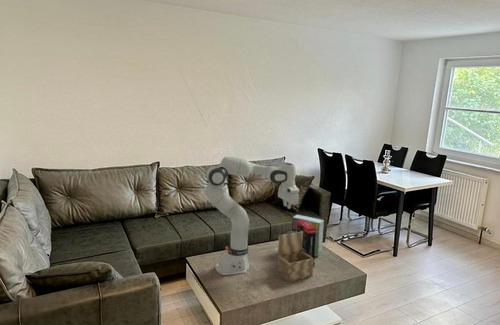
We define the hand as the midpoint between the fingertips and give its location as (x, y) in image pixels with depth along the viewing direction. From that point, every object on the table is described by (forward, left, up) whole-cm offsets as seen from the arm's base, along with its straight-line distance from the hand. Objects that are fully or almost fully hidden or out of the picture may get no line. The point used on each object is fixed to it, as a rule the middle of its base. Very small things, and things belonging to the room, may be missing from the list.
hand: (287, 207), depth 233 cm
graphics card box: (+13, -5, -39) cm, 42 cm away
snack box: (+23, +7, -39) cm, 46 cm away
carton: (-3, -17, -39) cm, 43 cm away
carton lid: (-3, -11, -21) cm, 23 cm away
